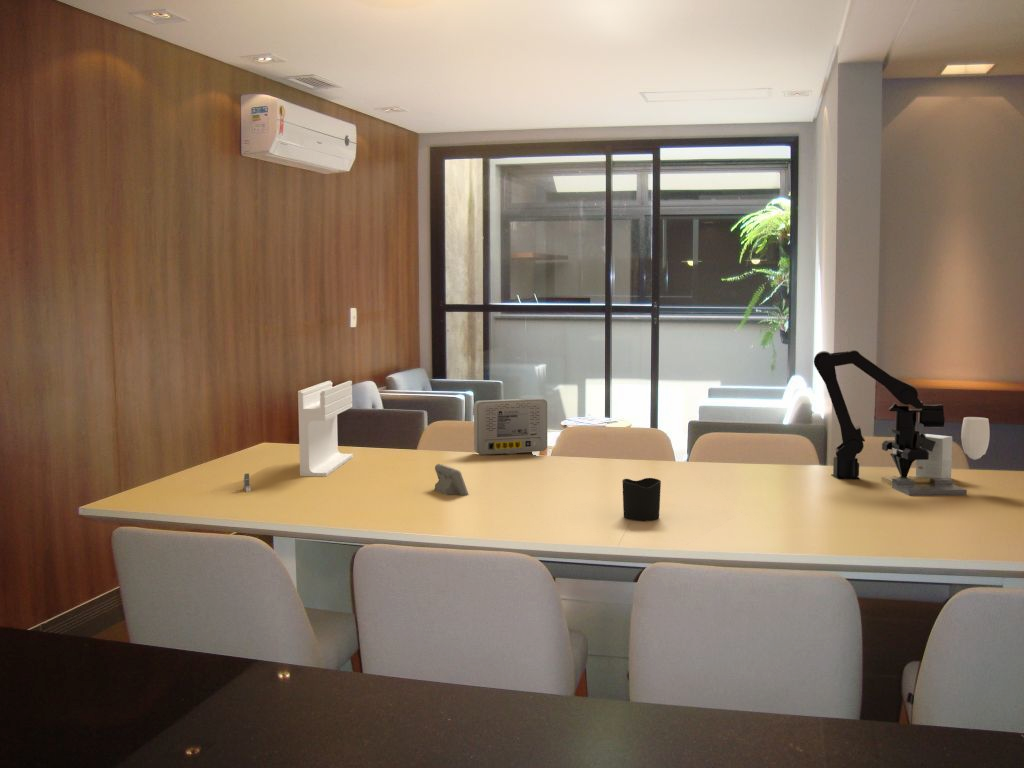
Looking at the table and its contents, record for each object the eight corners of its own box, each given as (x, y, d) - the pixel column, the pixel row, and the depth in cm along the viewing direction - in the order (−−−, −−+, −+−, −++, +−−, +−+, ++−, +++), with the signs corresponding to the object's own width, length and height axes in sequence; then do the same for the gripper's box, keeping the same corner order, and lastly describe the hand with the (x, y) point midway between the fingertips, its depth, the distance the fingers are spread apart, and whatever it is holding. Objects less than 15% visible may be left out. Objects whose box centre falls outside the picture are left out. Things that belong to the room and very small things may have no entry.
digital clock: (471, 503, 257) (470, 469, 256) (443, 505, 255) (443, 471, 254) (458, 493, 270) (457, 461, 269) (431, 495, 268) (431, 463, 267)
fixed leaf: (908, 497, 261) (909, 486, 260) (891, 489, 272) (892, 478, 271) (966, 497, 261) (966, 485, 261) (947, 488, 272) (947, 477, 272)
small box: (951, 479, 287) (953, 436, 286) (941, 481, 283) (942, 438, 282) (925, 475, 293) (927, 433, 292) (915, 477, 289) (916, 435, 288)
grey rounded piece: (958, 492, 268) (961, 419, 266) (959, 487, 274) (962, 416, 272) (987, 494, 264) (990, 420, 262) (987, 489, 271) (990, 417, 269)
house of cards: (220, 499, 265) (219, 472, 264) (252, 496, 268) (251, 469, 268) (224, 505, 257) (223, 477, 256) (257, 502, 260) (256, 475, 259)
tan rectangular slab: (897, 490, 270) (897, 478, 270) (881, 483, 281) (881, 472, 281) (945, 489, 271) (946, 478, 271) (927, 482, 282) (928, 472, 282)
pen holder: (651, 526, 229) (651, 485, 229) (615, 522, 234) (616, 482, 234) (666, 518, 237) (666, 479, 237) (632, 514, 242) (632, 475, 241)
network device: (541, 453, 338) (541, 397, 336) (550, 457, 330) (550, 399, 328) (472, 457, 330) (471, 400, 328) (479, 461, 322) (479, 402, 320)
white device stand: (329, 463, 319) (328, 380, 316) (353, 463, 318) (351, 380, 316) (300, 484, 284) (297, 391, 281) (326, 484, 283) (324, 391, 281)
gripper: (947, 430, 272) (945, 484, 273) (917, 421, 290) (916, 472, 292) (909, 431, 271) (907, 485, 273) (881, 422, 290) (880, 472, 292)
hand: (903, 478), depth 282 cm, fingers closed
